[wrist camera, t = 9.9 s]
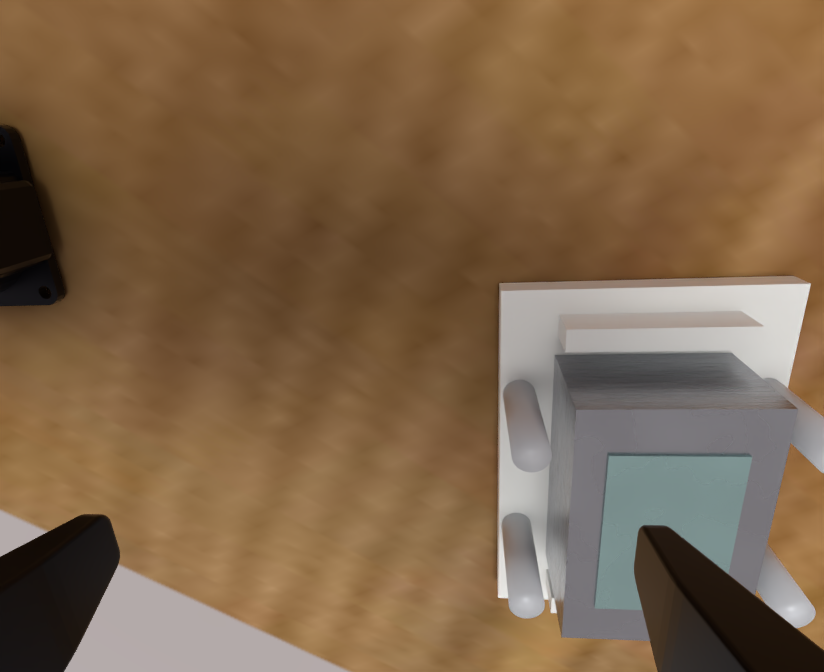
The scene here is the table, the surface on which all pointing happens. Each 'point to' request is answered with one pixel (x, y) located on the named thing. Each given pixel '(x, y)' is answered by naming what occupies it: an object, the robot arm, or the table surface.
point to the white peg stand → (629, 334)
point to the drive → (656, 475)
